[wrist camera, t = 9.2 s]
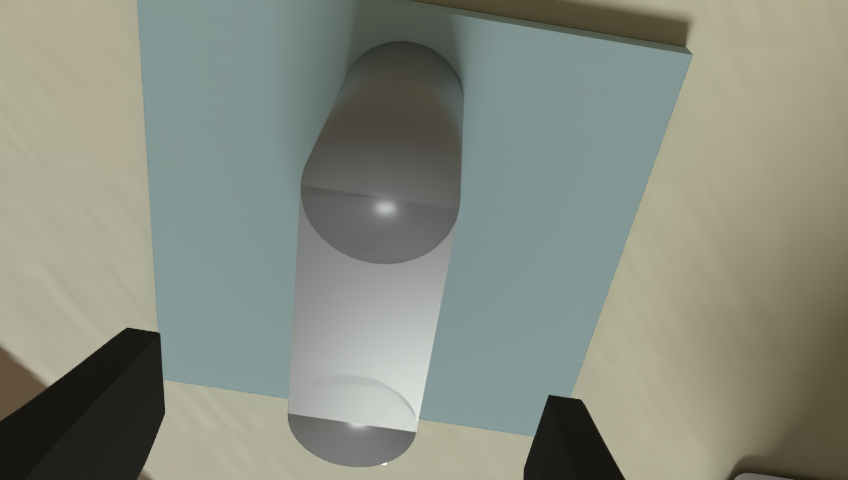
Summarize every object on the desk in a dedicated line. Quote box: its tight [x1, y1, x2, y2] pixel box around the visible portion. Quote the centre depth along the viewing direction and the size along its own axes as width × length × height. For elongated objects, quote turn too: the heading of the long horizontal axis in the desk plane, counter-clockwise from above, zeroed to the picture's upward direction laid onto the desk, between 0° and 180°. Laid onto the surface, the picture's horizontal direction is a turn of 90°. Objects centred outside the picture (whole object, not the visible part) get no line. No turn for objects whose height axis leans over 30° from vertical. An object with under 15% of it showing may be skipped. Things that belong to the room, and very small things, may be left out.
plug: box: [288, 41, 464, 467], centre depth 17 cm, size 3×11×5 cm, turn 172°
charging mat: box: [137, 0, 693, 437], centre depth 20 cm, size 13×13×1 cm
